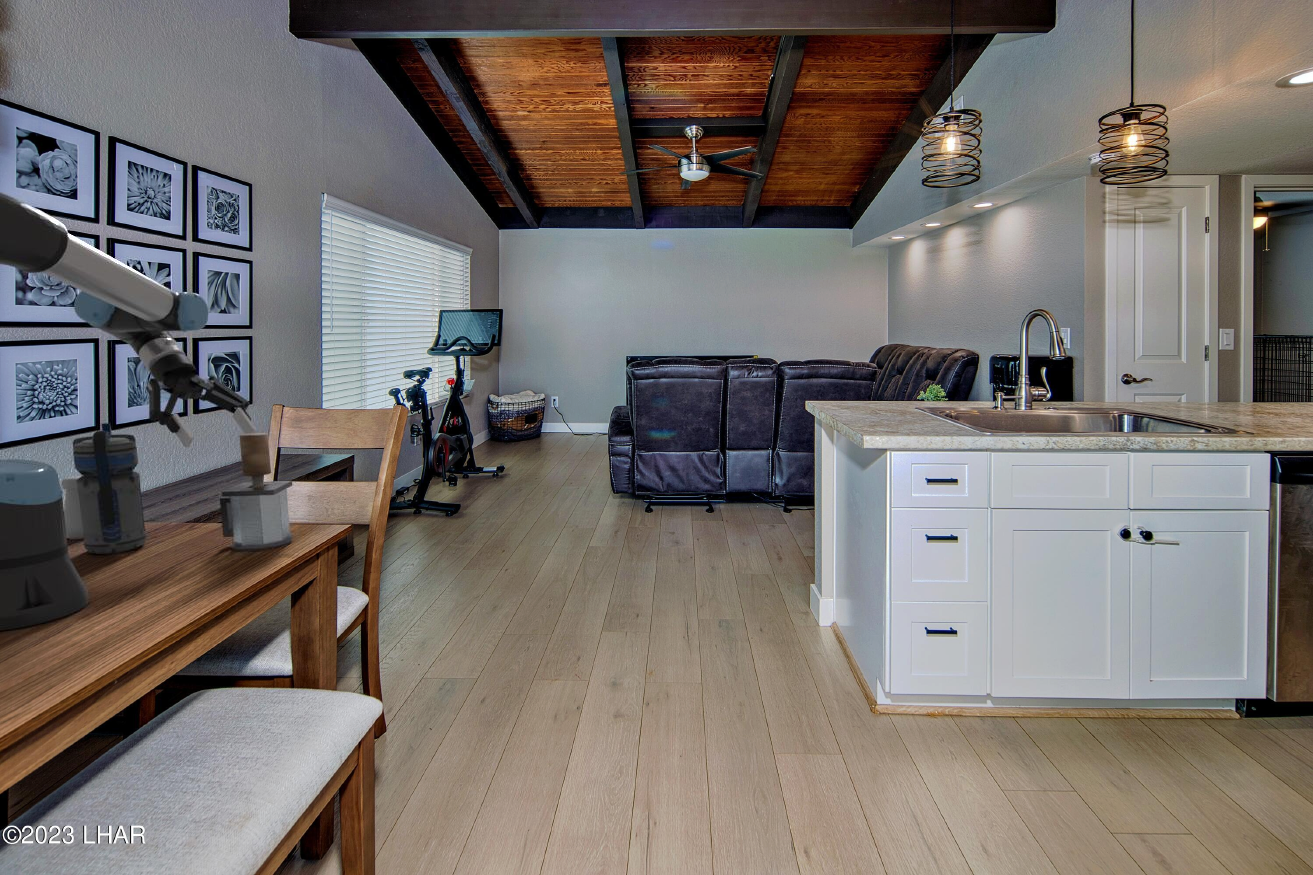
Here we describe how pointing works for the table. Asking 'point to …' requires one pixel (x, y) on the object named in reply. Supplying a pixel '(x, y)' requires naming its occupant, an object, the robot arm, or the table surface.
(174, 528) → the table surface
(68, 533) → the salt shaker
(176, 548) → the table surface
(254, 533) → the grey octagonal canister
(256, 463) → the plunger
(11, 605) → the robot arm
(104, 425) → the beverage bottle
